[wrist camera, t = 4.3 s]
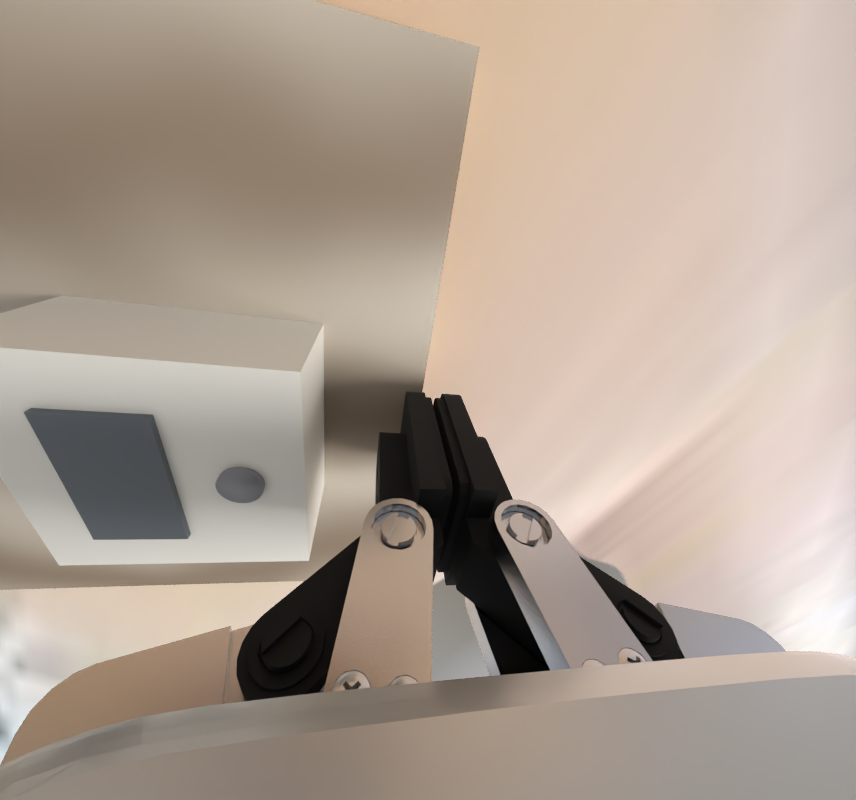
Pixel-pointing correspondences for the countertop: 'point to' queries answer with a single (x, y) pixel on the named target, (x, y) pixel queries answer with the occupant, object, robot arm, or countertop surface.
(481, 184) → the countertop surface
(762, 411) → the countertop surface
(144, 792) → the robot arm
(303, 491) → the thermostat
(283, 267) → the subfloor panel
